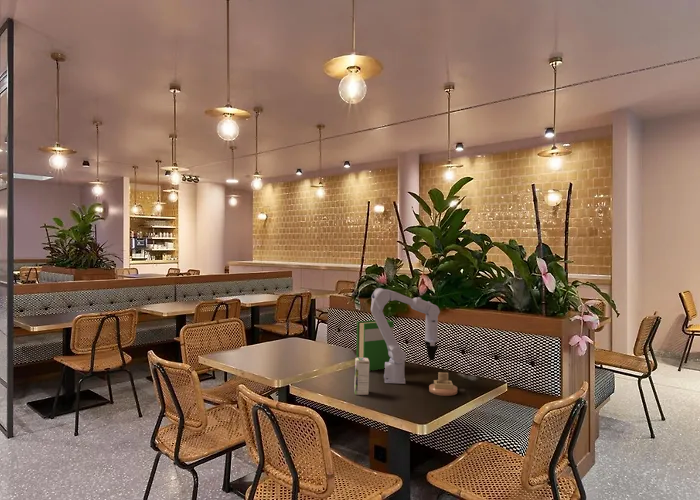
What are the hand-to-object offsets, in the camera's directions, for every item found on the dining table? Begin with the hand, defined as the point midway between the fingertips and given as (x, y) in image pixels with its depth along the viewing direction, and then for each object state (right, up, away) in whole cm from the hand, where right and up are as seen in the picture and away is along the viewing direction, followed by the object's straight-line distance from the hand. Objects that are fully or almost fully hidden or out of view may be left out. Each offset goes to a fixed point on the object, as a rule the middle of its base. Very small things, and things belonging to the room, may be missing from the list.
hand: (430, 358), depth 223 cm
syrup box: (-33, -10, -21) cm, 41 cm away
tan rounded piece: (+2, -11, -17) cm, 20 cm away
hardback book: (-25, -10, +22) cm, 35 cm away
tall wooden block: (+2, -9, -17) cm, 19 cm away
